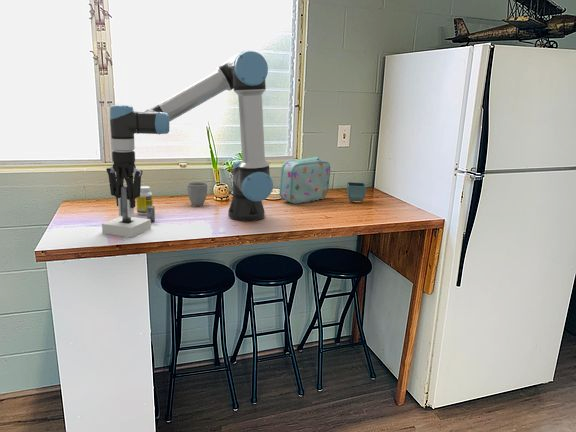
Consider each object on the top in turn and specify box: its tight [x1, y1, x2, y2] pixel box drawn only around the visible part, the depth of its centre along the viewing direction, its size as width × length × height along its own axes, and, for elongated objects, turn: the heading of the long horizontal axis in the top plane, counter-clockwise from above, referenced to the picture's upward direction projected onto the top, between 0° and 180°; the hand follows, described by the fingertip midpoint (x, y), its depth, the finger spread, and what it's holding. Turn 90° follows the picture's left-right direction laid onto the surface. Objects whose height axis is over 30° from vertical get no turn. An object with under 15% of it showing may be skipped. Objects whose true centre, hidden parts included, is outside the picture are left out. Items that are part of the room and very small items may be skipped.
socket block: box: [101, 216, 152, 238], centre depth 170 cm, size 12×12×4 cm
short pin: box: [146, 205, 156, 224], centre depth 183 cm, size 3×3×6 cm
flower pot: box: [346, 181, 368, 202], centre depth 230 cm, size 9×9×9 cm
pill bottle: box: [136, 185, 154, 216], centre depth 194 cm, size 6×6×11 cm
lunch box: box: [279, 156, 331, 205], centre depth 227 cm, size 27×10×21 cm, turn 133°
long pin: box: [121, 185, 131, 224], centre depth 168 cm, size 3×3×15 cm
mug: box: [186, 181, 208, 207], centre depth 213 cm, size 12×9×10 cm
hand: (126, 215), depth 169 cm, fingers closed on long pin, 3 cm apart
